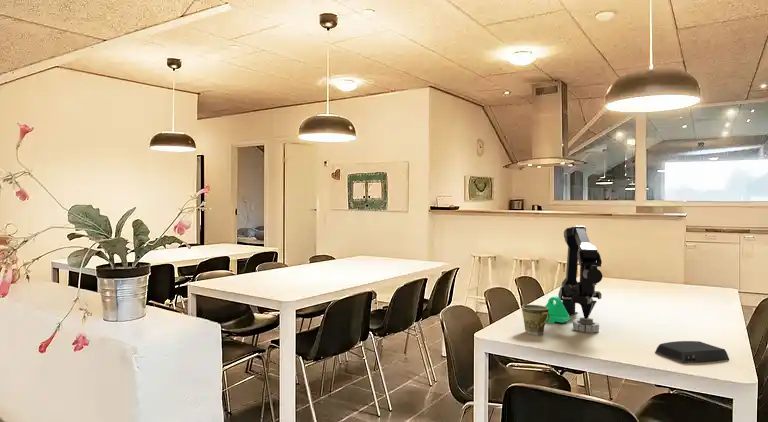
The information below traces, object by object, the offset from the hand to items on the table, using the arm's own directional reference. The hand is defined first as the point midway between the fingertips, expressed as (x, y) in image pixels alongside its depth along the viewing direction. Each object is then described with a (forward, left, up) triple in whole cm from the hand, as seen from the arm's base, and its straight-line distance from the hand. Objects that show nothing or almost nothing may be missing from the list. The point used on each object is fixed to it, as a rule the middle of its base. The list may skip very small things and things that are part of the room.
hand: (586, 318), depth 208 cm
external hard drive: (+11, +38, -5) cm, 40 cm away
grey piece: (0, 0, -5) cm, 5 cm away
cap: (0, 0, -4) cm, 4 cm away
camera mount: (-6, -16, -5) cm, 18 cm away
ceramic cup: (+20, -12, -5) cm, 24 cm away
